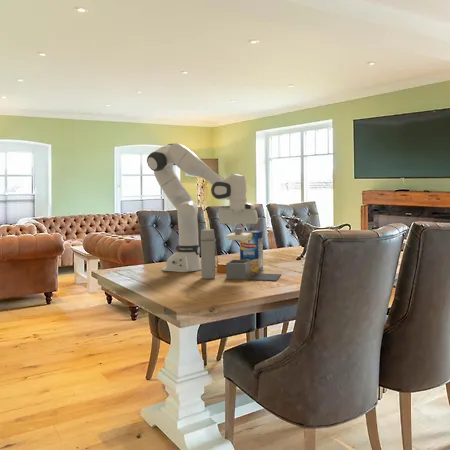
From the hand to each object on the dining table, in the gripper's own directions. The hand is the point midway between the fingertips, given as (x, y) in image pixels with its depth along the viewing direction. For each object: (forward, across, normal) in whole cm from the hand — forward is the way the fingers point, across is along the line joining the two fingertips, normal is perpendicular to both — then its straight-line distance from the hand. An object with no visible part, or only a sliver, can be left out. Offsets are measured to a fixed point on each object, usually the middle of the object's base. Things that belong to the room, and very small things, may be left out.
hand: (238, 232), depth 243 cm
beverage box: (+23, +3, +18) cm, 30 cm away
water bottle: (+23, -14, -5) cm, 28 cm away
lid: (+3, 0, 0) cm, 3 cm away
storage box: (+23, 0, 0) cm, 23 cm away
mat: (+23, +14, 0) cm, 27 cm away
